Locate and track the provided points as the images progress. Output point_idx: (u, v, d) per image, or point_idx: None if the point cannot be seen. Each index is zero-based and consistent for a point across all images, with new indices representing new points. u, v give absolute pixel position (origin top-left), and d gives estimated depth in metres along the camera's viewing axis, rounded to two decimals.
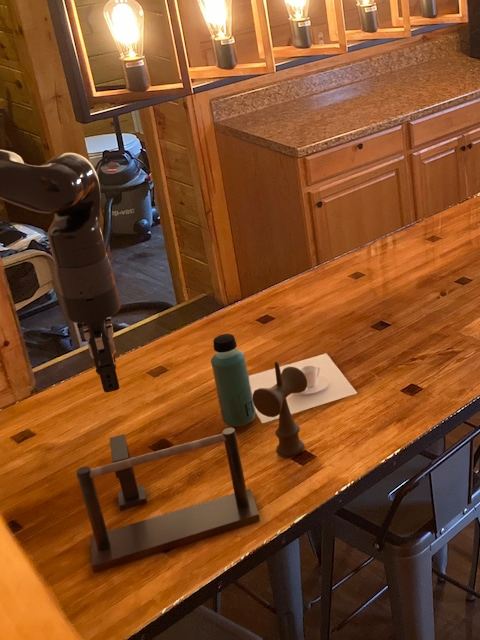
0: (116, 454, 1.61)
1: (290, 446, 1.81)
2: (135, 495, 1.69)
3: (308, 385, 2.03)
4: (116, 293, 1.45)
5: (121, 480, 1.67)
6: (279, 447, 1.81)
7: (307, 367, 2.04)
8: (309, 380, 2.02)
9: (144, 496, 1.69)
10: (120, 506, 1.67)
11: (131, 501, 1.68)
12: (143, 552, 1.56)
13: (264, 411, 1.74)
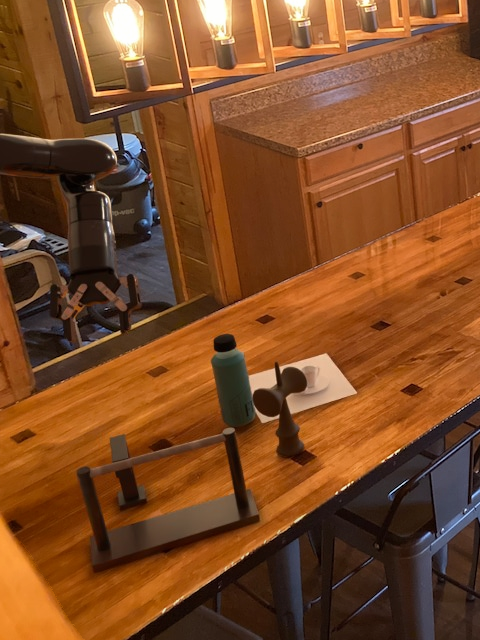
0: (116, 454, 1.61)
1: (290, 446, 1.81)
2: (135, 495, 1.69)
3: (308, 385, 2.03)
4: None
5: (121, 480, 1.67)
6: (279, 447, 1.81)
7: (307, 367, 2.04)
8: (309, 380, 2.02)
9: (144, 496, 1.69)
10: (120, 506, 1.67)
11: (131, 501, 1.68)
12: (143, 552, 1.56)
13: (264, 411, 1.74)
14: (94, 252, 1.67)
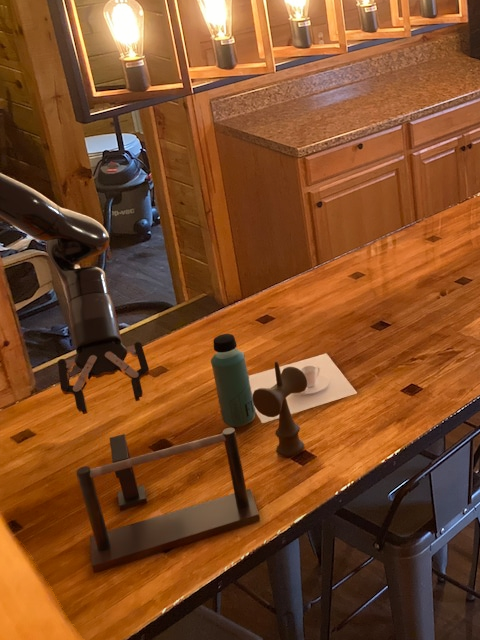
0: (116, 454, 1.61)
1: (290, 446, 1.81)
2: (135, 495, 1.69)
3: (308, 385, 2.03)
4: None
5: (121, 480, 1.67)
6: (279, 447, 1.81)
7: (307, 367, 2.04)
8: (309, 380, 2.02)
9: (144, 496, 1.69)
10: (120, 506, 1.67)
11: (131, 501, 1.68)
12: (143, 552, 1.56)
13: (264, 411, 1.74)
14: (102, 323, 1.72)
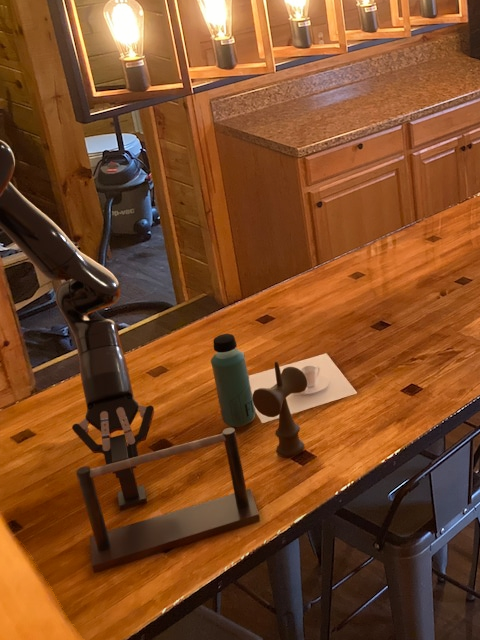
0: (116, 454, 1.61)
1: (290, 446, 1.81)
2: (135, 495, 1.69)
3: (308, 385, 2.03)
4: None
5: (121, 480, 1.67)
6: (279, 447, 1.81)
7: (307, 367, 2.04)
8: (309, 380, 2.02)
9: (144, 496, 1.69)
10: (120, 506, 1.67)
11: (131, 501, 1.68)
12: (143, 552, 1.56)
13: (264, 411, 1.74)
14: (113, 378, 1.67)
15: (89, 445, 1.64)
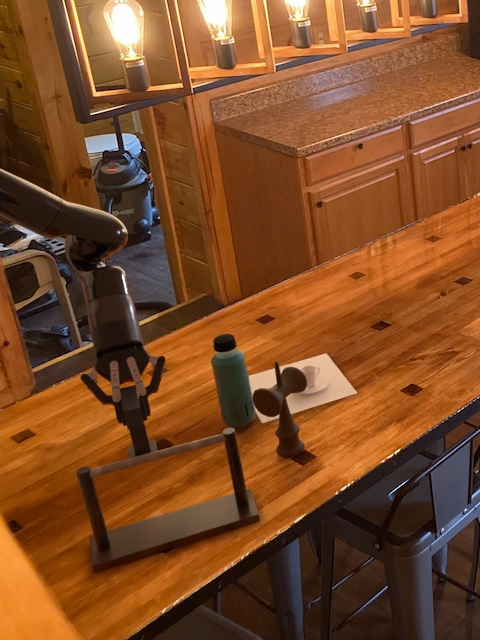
0: (127, 404, 1.53)
1: (290, 446, 1.81)
2: (146, 449, 1.61)
3: (308, 385, 2.03)
4: None
5: (132, 433, 1.59)
6: (279, 447, 1.81)
7: (307, 367, 2.04)
8: (309, 380, 2.02)
9: None
10: None
11: None
12: (143, 552, 1.56)
13: (264, 411, 1.74)
14: (123, 327, 1.60)
15: (98, 396, 1.56)
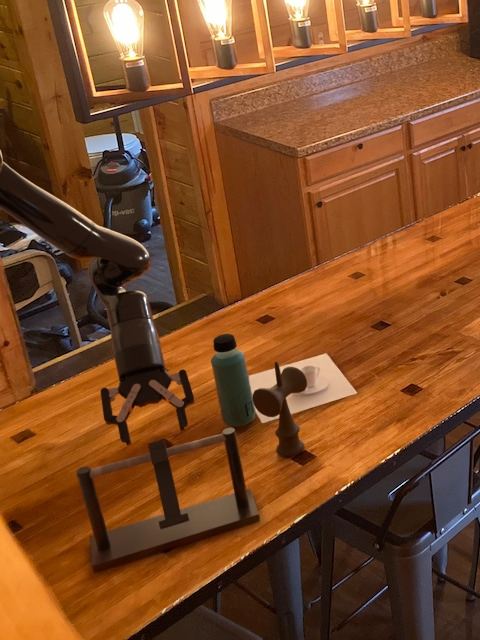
0: None
1: (290, 446, 1.81)
2: (176, 513, 1.55)
3: (308, 385, 2.03)
4: None
5: (161, 493, 1.56)
6: (279, 447, 1.81)
7: (307, 367, 2.04)
8: (309, 380, 2.02)
9: (186, 513, 1.56)
10: (160, 522, 1.53)
11: (172, 517, 1.54)
12: (143, 552, 1.56)
13: (264, 411, 1.74)
14: (145, 350, 1.65)
15: (104, 414, 1.61)
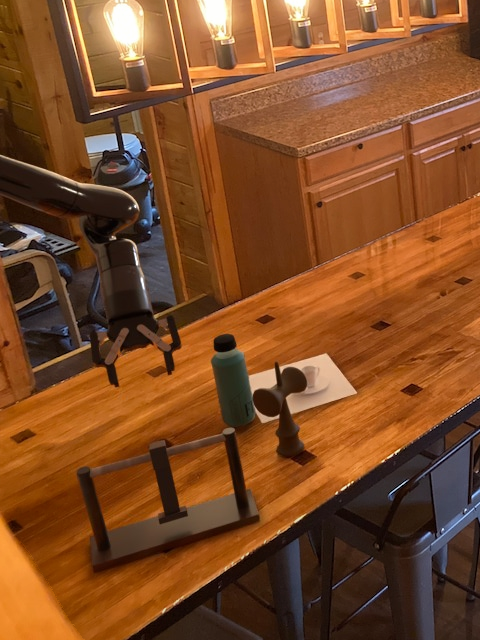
0: (154, 446, 1.54)
1: (290, 446, 1.81)
2: (175, 509, 1.58)
3: (308, 385, 2.03)
4: None
5: (161, 489, 1.57)
6: (279, 447, 1.81)
7: (307, 367, 2.04)
8: (309, 380, 2.02)
9: (185, 509, 1.59)
10: (160, 519, 1.56)
11: (171, 514, 1.57)
12: (143, 552, 1.56)
13: (264, 411, 1.74)
14: (134, 296, 1.69)
15: (93, 356, 1.64)
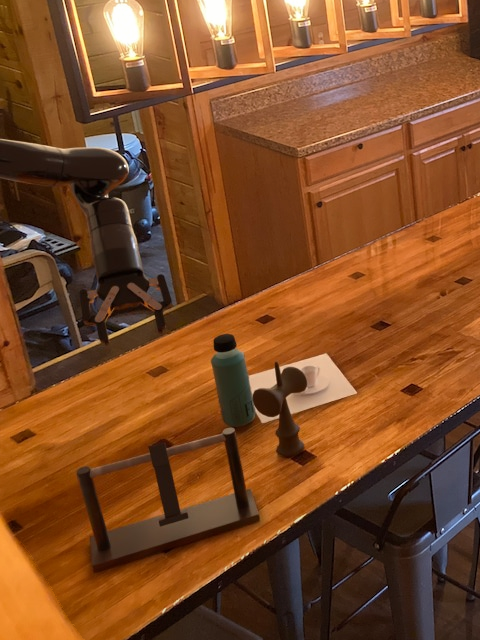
0: None
1: (290, 446, 1.81)
2: (176, 511, 1.57)
3: (308, 385, 2.03)
4: None
5: (161, 491, 1.57)
6: (279, 447, 1.81)
7: (307, 367, 2.04)
8: (309, 380, 2.02)
9: (185, 512, 1.57)
10: (160, 521, 1.55)
11: (172, 516, 1.56)
12: (143, 552, 1.56)
13: (264, 411, 1.74)
14: (124, 254, 1.67)
15: (83, 314, 1.63)
